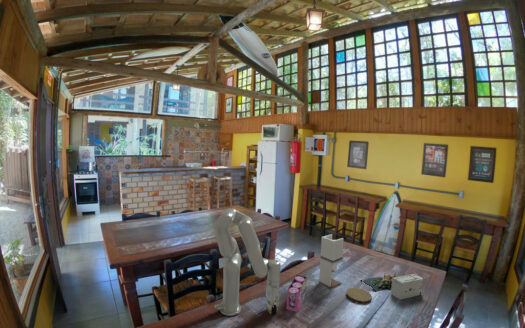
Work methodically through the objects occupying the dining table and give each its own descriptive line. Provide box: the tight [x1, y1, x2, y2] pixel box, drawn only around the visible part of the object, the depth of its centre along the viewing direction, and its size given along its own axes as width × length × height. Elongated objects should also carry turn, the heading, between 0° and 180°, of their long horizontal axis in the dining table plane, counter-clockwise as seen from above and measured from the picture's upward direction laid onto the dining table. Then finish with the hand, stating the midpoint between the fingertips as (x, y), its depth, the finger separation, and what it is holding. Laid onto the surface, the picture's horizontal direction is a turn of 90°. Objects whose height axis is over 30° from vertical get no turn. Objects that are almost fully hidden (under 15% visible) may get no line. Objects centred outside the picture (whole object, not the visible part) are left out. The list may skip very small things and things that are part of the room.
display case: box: [318, 233, 344, 290], centre depth 195 cm, size 11×11×35 cm
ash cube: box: [266, 301, 279, 315], centre depth 162 cm, size 4×4×4 cm
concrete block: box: [390, 271, 424, 300], centre depth 184 cm, size 21×8×20 cm, turn 111°
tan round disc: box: [345, 287, 373, 305], centre depth 180 cm, size 16×16×3 cm
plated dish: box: [363, 271, 397, 293], centre depth 200 cm, size 35×28×7 cm
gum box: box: [286, 274, 308, 313], centre depth 172 cm, size 22×7×13 cm, turn 157°
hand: (272, 310), depth 162 cm, fingers closed on ash cube, 4 cm apart
